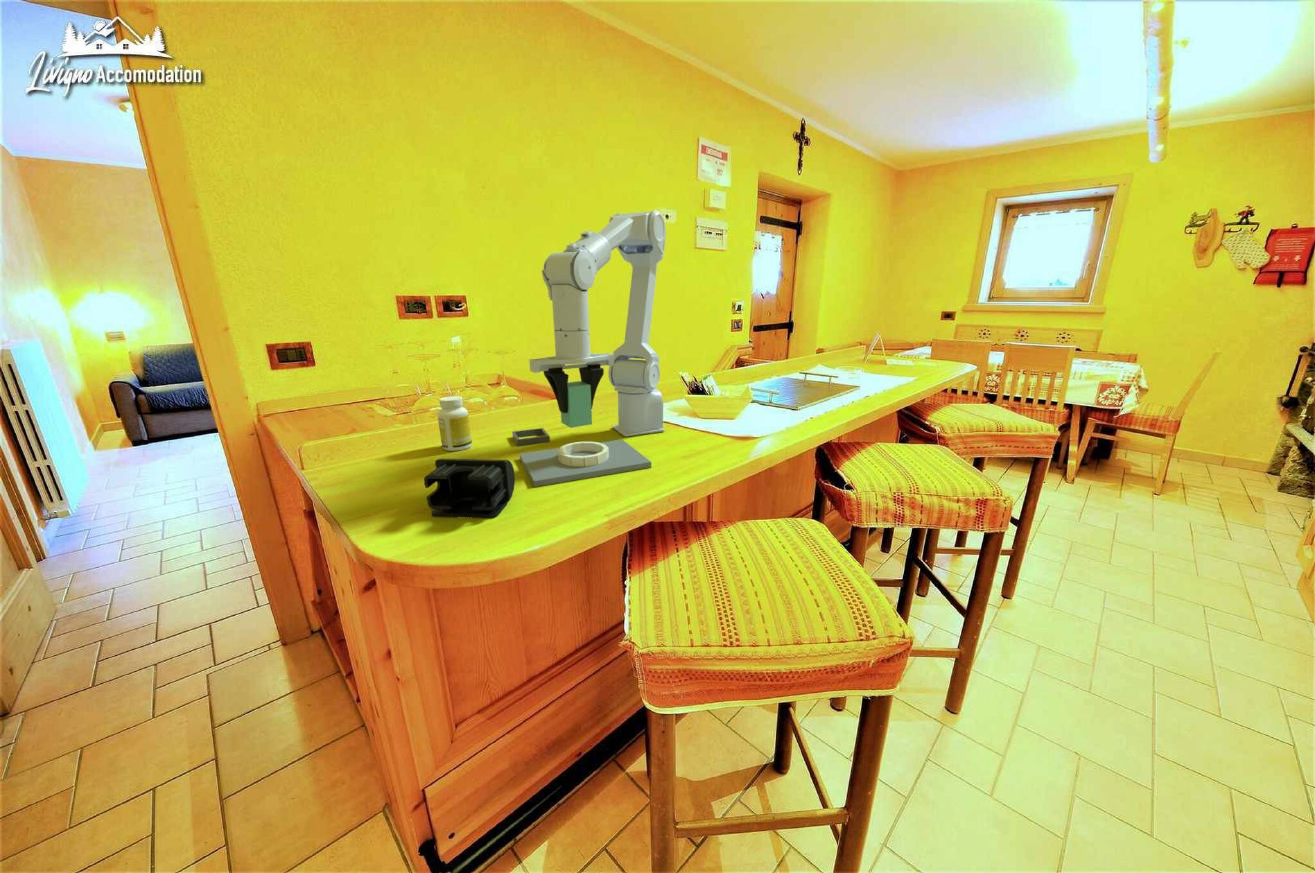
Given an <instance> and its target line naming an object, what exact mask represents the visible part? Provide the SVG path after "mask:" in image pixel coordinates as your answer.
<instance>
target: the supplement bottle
mask: <svg viewBox="0 0 1315 873" xmlns="http://www.w3.org/2000/svg"><path fill="white" fill-rule="evenodd" d="M463 404H464V402H463V397H462V396H456V395H455V396H454V395H453V396H452V395H451V396H445V397H442V398H439V406H440V408H441V409H440V410H439V411H438V412H437V421H438V422H437V423H438V427H439V434H440V436H439V437H440V441H441V446H442V450H445V451H448V452H449V451H450V452H454V451H455V452H456V451H463V450H466V449H469V448H471V446H472V444H473V440H472V432H471V426H470V425H471V424H470V419H469V418H470V417H469V412H468V409H466V408H465V407H463Z"/></svg>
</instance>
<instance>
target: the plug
mask: <svg viewBox="0 0 1315 873" xmlns="http://www.w3.org/2000/svg"><path fill="white" fill-rule="evenodd" d="M567 399H568V413H563V412H561V411H560V418H561V419H560V421H561V424H563V425H565V426H567V427H569V428H571V429H573V428H578V427H579V428H580V427H583V426H589V425H593V418H592V416H593V415H592V409H591V387H590V384H587V383H584V382H581V380H578V381H568V385H567Z"/></svg>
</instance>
